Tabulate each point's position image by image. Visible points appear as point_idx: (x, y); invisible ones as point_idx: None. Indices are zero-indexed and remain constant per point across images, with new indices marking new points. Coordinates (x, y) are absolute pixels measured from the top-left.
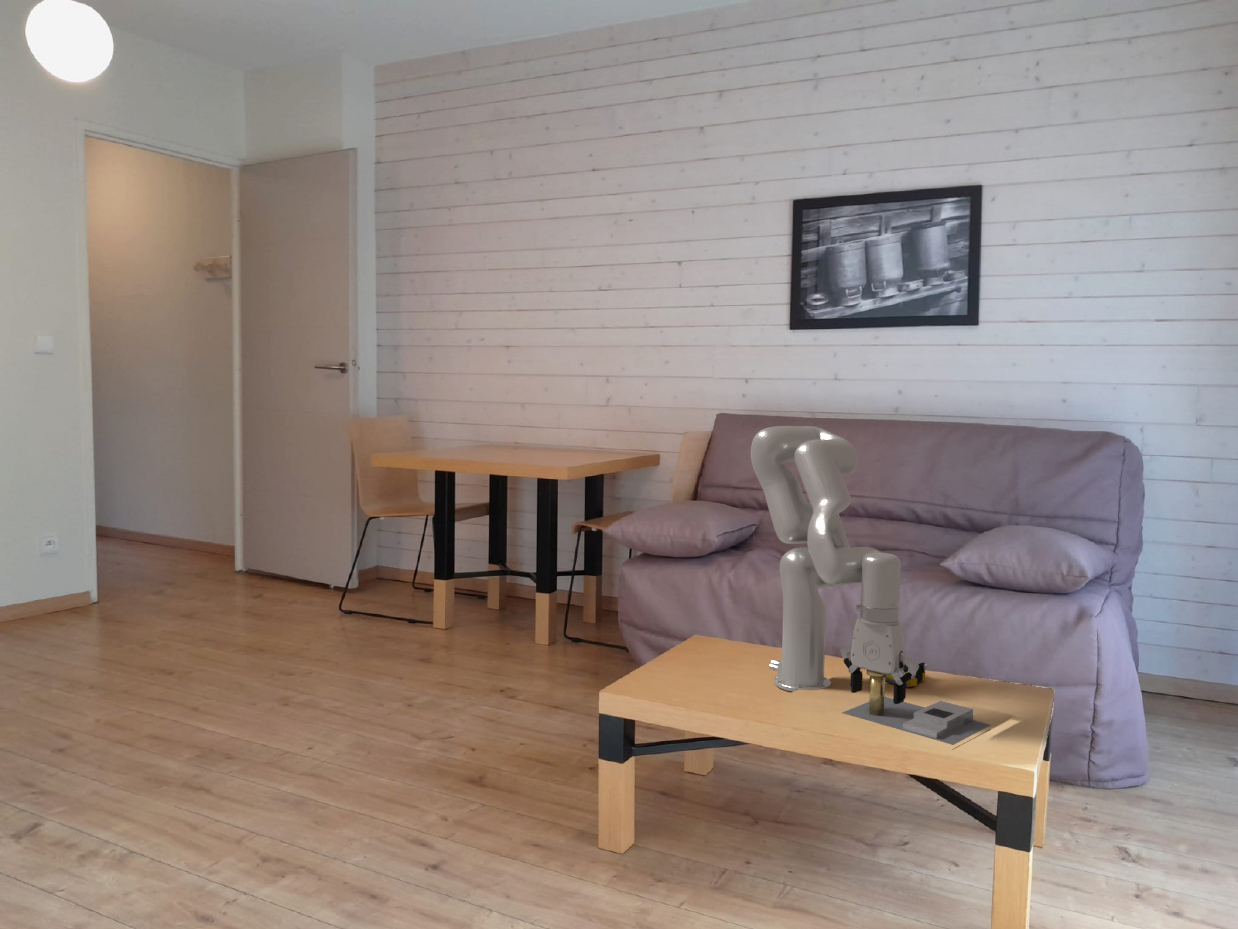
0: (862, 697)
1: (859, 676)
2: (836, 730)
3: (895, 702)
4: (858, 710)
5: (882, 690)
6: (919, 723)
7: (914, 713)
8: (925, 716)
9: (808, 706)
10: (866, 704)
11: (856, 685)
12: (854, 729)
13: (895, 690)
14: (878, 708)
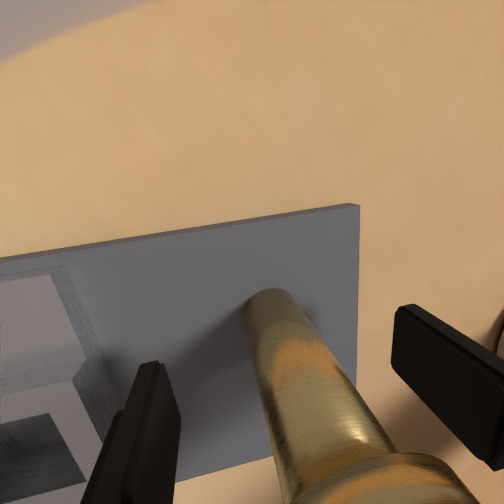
0: (399, 394)
1: (468, 416)
2: (271, 40)
3: (143, 366)
4: (331, 281)
5: (264, 402)
6: (12, 336)
7: (69, 379)
8: (2, 393)
9: (487, 196)
10: (347, 348)
11: (424, 348)
12: (232, 130)
13: (120, 443)
14: (253, 317)
